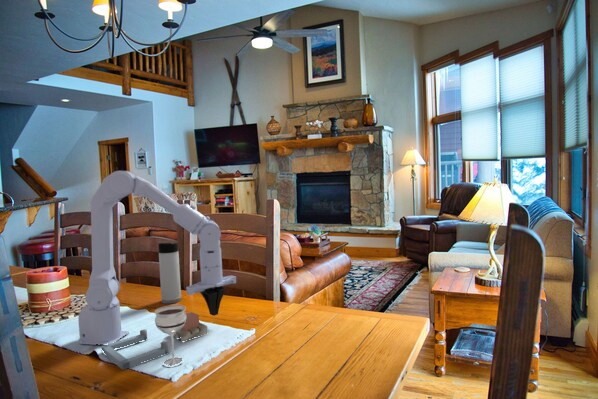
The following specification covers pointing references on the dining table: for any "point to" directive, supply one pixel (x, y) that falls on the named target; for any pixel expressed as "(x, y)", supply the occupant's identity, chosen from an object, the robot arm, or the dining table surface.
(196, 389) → the dining table surface
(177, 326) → the wineglass
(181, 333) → the pallet
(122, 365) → the dock
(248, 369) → the dining table surface
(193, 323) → the salmon pink block
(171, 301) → the travel mug
